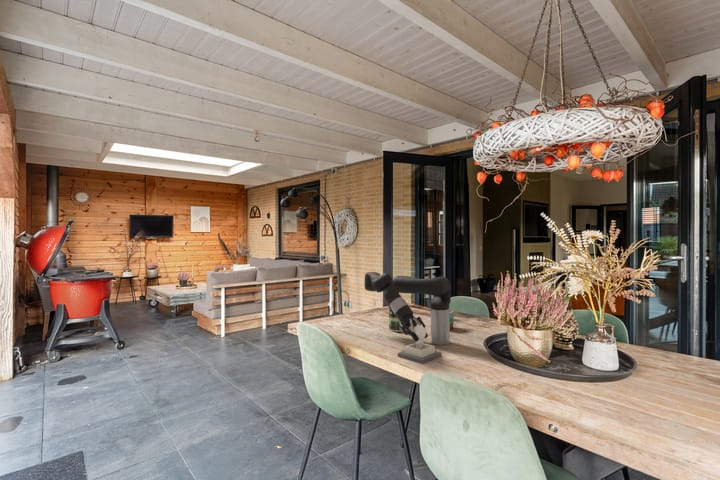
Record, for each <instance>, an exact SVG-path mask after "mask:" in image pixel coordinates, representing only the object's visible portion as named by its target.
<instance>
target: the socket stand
mask: <svg viewBox="0 0 720 480" xmlns="http://www.w3.org/2000/svg"><path fill="white" fill-rule="evenodd" d="M435 346H436V345H432V344H428V343H424V342H423V343H422V349H421V350H420V349H416V342H413V343H410V344H408V345H405V346H404V350H402V351H400V352H397V357H399V358H401V359H402V358H403V359H405V360H408V361H413V362H416V363H418V364H419V363H420V364H425V363H428V362H430V361H434V359H438V358H440V357H442V355H443V354H442V352H441V351H438V350H437V351H436V348H435Z"/></svg>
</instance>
